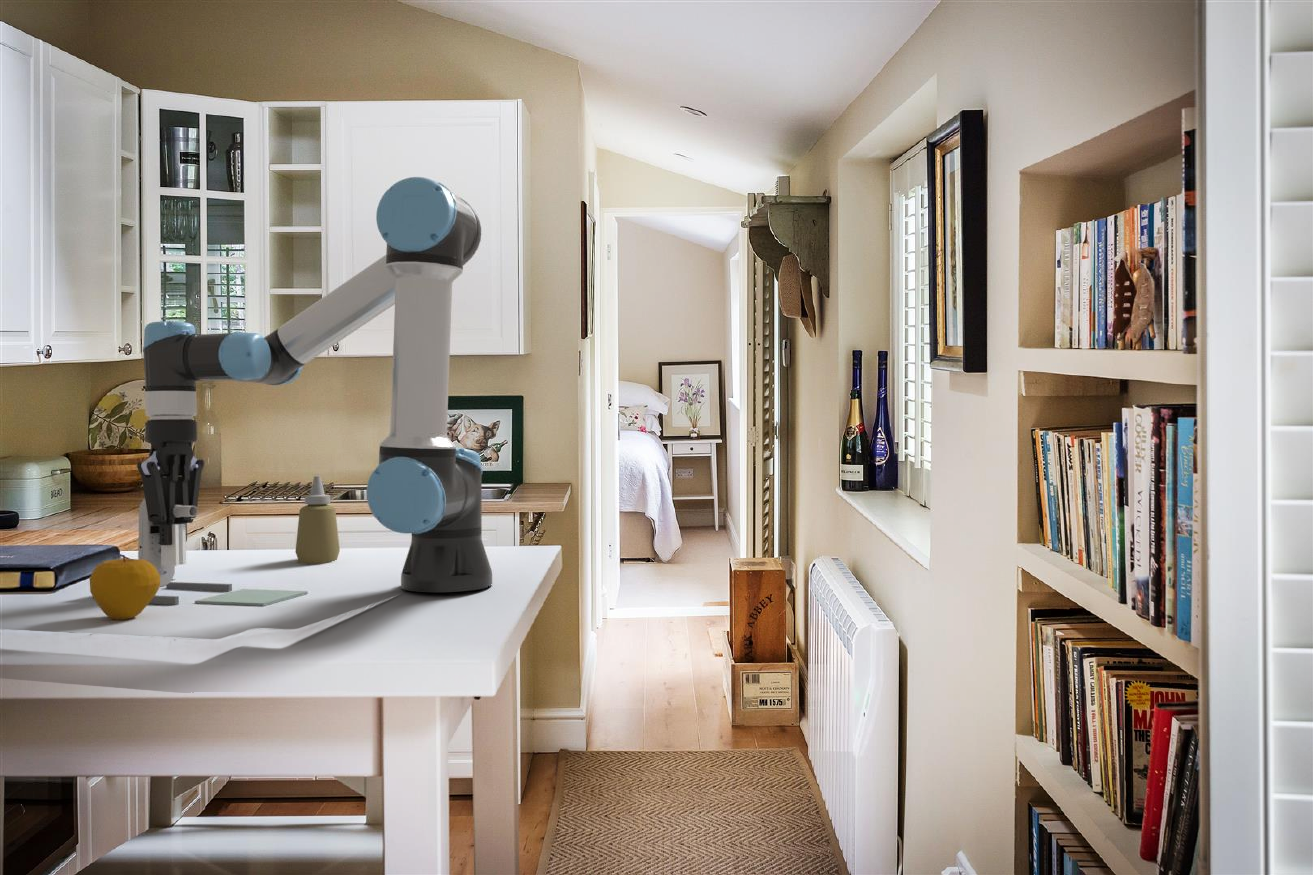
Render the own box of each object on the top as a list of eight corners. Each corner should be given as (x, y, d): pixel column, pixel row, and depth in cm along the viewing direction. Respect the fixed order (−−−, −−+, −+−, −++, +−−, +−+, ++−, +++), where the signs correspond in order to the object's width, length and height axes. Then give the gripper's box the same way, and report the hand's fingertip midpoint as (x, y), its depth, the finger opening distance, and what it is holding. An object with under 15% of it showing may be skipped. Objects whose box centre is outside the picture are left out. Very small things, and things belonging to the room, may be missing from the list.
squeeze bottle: (308, 567, 199) (307, 475, 199) (347, 567, 198) (346, 475, 198) (287, 572, 191) (287, 477, 191) (328, 573, 190) (327, 477, 190)
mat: (307, 593, 166) (307, 591, 166) (263, 605, 154) (263, 603, 154) (242, 591, 169) (242, 588, 169) (194, 603, 157) (194, 600, 157)
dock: (252, 586, 174) (252, 562, 174) (175, 604, 156) (175, 578, 155) (166, 583, 178) (166, 560, 178) (81, 601, 159) (80, 575, 159)
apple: (174, 613, 148) (173, 552, 148) (129, 624, 139) (129, 559, 139) (121, 611, 150) (121, 550, 150) (74, 622, 142) (73, 558, 141)
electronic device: (177, 590, 158) (179, 494, 159) (135, 588, 162) (136, 494, 163) (206, 587, 163) (207, 494, 164) (164, 585, 167) (165, 494, 168)
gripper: (180, 419, 171) (183, 559, 171) (119, 418, 157) (121, 570, 158) (219, 418, 169) (222, 559, 169) (160, 417, 156) (163, 570, 156)
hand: (173, 564), depth 163 cm, fingers closed on electronic device
